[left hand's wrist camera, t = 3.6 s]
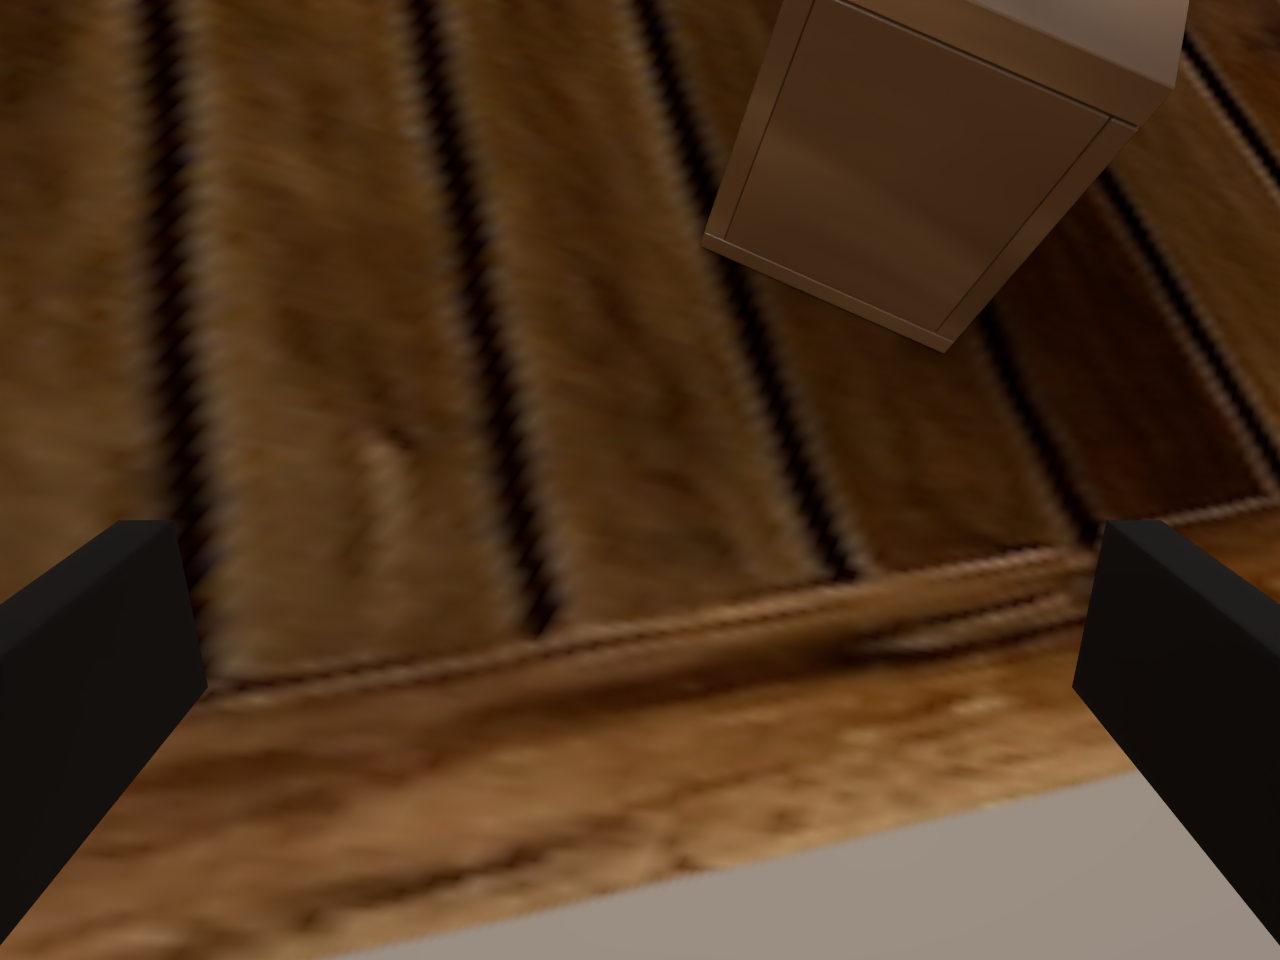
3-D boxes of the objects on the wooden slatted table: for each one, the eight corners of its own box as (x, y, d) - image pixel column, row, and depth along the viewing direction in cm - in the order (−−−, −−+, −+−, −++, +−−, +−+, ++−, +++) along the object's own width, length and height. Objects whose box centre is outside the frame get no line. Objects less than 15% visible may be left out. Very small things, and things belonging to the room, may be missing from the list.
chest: (835, -25, 37) (944, -304, 28) (1031, 60, 37) (1201, -196, 28) (699, 246, 30) (789, -21, 21) (944, 355, 29) (1139, 130, 21)
